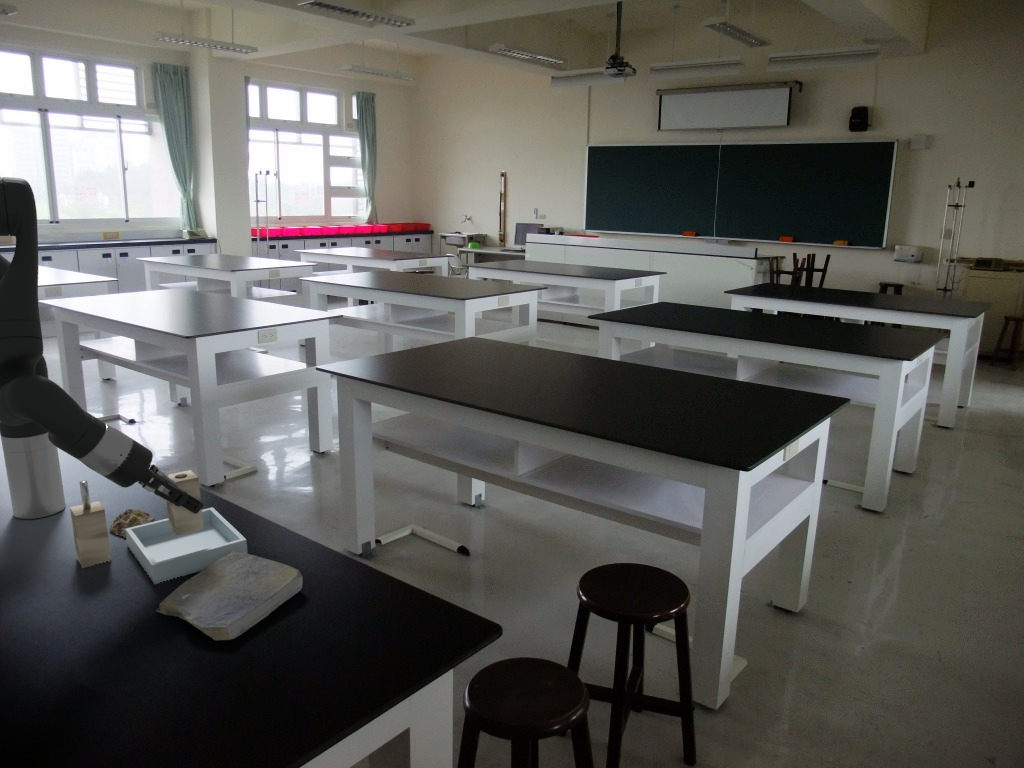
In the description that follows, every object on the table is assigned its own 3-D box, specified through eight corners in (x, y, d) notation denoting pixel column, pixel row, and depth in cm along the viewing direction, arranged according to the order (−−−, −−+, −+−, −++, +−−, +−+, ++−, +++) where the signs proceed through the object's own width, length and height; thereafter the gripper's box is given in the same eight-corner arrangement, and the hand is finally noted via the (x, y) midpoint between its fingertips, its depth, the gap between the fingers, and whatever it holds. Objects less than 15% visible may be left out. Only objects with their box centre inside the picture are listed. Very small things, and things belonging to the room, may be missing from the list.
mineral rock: (101, 515, 149) (142, 496, 153) (110, 533, 151) (150, 513, 155) (113, 536, 141) (156, 516, 145) (122, 555, 143) (164, 534, 147)
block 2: (169, 527, 138) (163, 475, 135) (195, 520, 140) (190, 469, 138) (177, 535, 134) (171, 482, 132) (203, 528, 137) (198, 476, 135)
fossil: (140, 627, 118) (222, 649, 111) (136, 600, 117) (219, 621, 110) (236, 573, 136) (312, 590, 128) (233, 549, 135) (309, 565, 127)
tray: (127, 545, 141) (125, 528, 140) (214, 523, 151) (212, 507, 150) (154, 584, 128) (152, 565, 127) (247, 557, 138) (246, 539, 137)
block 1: (77, 558, 136) (66, 480, 133) (105, 551, 139) (95, 475, 135) (82, 568, 133) (71, 489, 129) (111, 560, 136) (101, 482, 132)
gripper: (141, 448, 123) (222, 499, 133) (119, 427, 133) (196, 476, 144) (109, 486, 121) (194, 535, 131) (89, 462, 131) (169, 509, 142)
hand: (194, 504), depth 137 cm, fingers closed on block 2, 4 cm apart
